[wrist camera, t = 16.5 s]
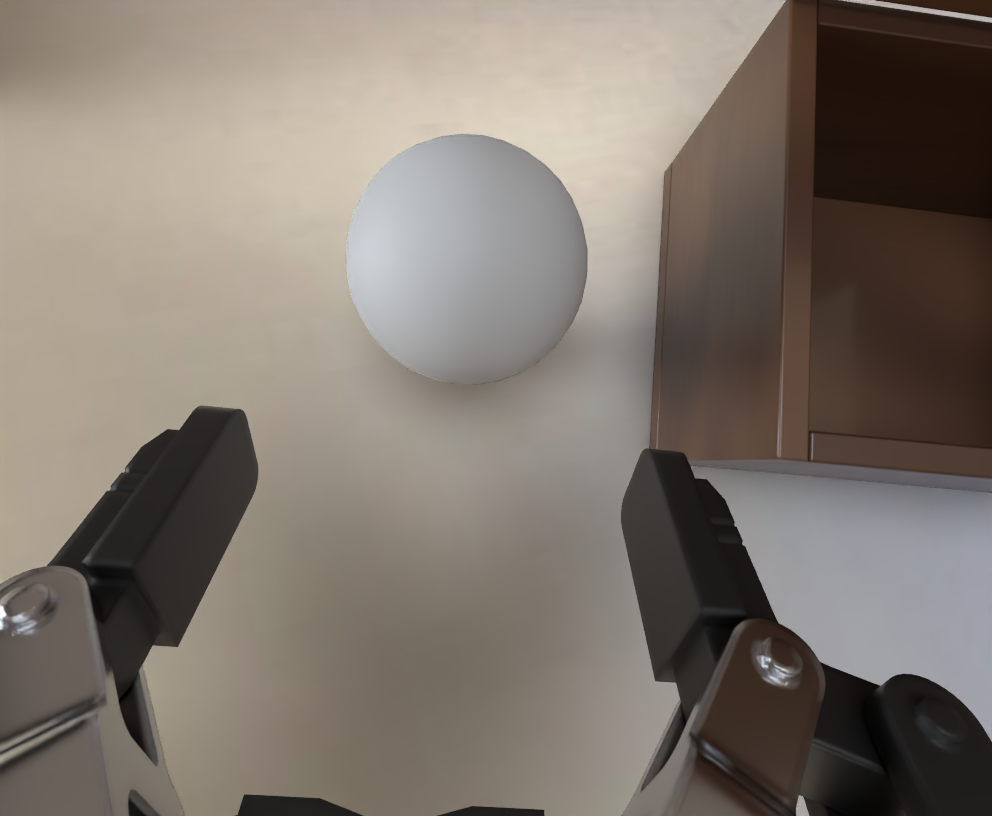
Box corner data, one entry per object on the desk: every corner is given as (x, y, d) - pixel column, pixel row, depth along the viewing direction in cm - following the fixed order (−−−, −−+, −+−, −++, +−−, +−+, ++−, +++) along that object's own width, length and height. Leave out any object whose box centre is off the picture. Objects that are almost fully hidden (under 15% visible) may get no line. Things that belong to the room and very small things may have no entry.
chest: (995, 493, 22) (1337, 511, 14) (648, 461, 21) (778, 459, 13) (989, 212, 24) (1296, 66, 15) (664, 172, 23) (790, -9, 14)
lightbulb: (532, 264, 22) (605, 67, 11) (544, 408, 21) (633, 350, 11) (385, 270, 22) (310, 71, 11) (392, 418, 21) (322, 367, 10)
